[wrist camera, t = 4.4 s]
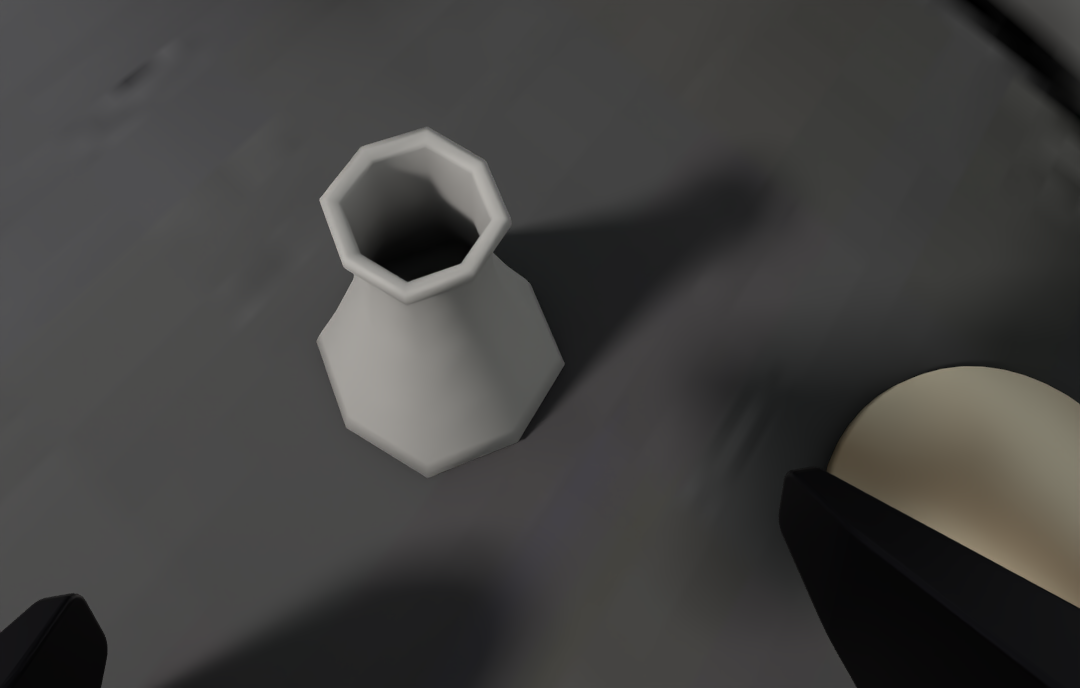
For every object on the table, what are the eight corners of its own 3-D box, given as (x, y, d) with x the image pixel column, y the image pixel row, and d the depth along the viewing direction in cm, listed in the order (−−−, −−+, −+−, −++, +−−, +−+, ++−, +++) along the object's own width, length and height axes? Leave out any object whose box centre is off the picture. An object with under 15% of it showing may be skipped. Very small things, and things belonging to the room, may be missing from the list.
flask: (459, 207, 23) (447, -26, 14) (603, 370, 22) (699, 238, 13) (276, 339, 22) (117, 177, 12) (423, 523, 21) (376, 504, 11)
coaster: (1148, 794, 20) (1168, 802, 20) (784, 669, 20) (793, 672, 20) (1169, 433, 23) (1187, 430, 23) (855, 325, 23) (864, 320, 23)
